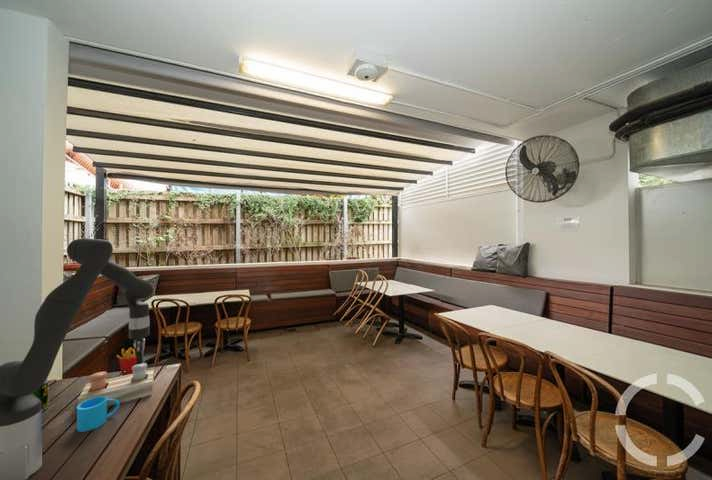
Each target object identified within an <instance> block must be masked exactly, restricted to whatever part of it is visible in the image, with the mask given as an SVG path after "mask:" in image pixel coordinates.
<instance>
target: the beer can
mask: <svg viewBox="0 0 712 480" xmlns="http://www.w3.org/2000/svg"><path fill="white" fill-rule="evenodd" d="M49 382H50V381H49V377H47V379H46V381H45V382H44V384H43V385H42V386H41V387H40V388H39V389H38V390H36V391H35V392H34V393H33V394H34V395H35V396H36V397H37V398H39V399H40V400H41V403H42V412H43V411H45V410H47V409H48V407H49V405H50V401H49V400H50V388H49V386H50V383H49Z"/></svg>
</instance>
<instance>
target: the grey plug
mask: <svg viewBox="0 0 712 480" xmlns="http://www.w3.org/2000/svg"><path fill="white" fill-rule="evenodd" d="M147 368H148V363H146V362H145V363H144V362H143V363H142V364H138V365H135V366H133V367H132V371H133V382H136V381H140V380H144V379H146V371H147Z"/></svg>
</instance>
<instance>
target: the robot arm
mask: <svg viewBox="0 0 712 480" xmlns="http://www.w3.org/2000/svg"><path fill="white" fill-rule="evenodd" d="M113 252H114V247H113V244H112V243H111V242H110V241H109V240H105V239H99V238H78V239H74V240H71V242H70V243H69V244H68V246H67V248H66V254H67V256H68V258H69V259H70V260H72V261H73V262H76V264H79V265H80V266H79V268H78V269H77V270H76V272H75V273H73V275H72V276H70V277H69V278H67V279H66V280H65V281H64V282H62V283H60V284H59V285H58V286H57V287H55V288H54V289H53V290H52V291H50V292H49V294H48V295H47V296H46V297H45V298H44V300H43V302H42V304H41V305H40V307H39V308H38V310H37V312H36V314H35V318H34V322H33V323H34V325H33V329H34V330H33V331H34V332H33V333H34V334H33V341H32V344H31V347H30V349H29V350H28V352H27V353H26V355H25V357H24V359H23V360H14V361H8V362H6V363H3V364H0V480H28V479H29V477H30V476H32V475H33V474H35V473H36V472H37V471H38V470H39V469H41V467H42V465H43V453H42V452H43V449H42V448H43V439H42V435H43V432H42V430H43V429H42V427H43V426H42V424H43V423H42V421H43V417H42V412H43V411H42V403H41V400H40V399H39V398H37V397H36V396H35V395H34V394H33V393H34V392H35V391H36V390H38V389H39V388H40V387H41V386H42V385H43V384H44V382H45V381H46V379H47V378H49V375H50V374H51V371H52V369H53V367H54V366H53V365H54V363H55V361H56V360H57V359H56V358H57V356H58V353H59V351H60V348H61V346H62V344H63V342H64V340H65V338H66V336H67V334H68V332H69V330H70V328H71V326H72V324H73V322H74V321H75V319H76V318H77V315H78V314H79V311H80V310H81V308H82V306H83V304H84V302H85V300H86V299H87V298H86V297H88V294H89V292H90V291H91V289H92V288H93V286H94V283H95V282H96V280H97V279H98V277H99V276H103V278H106V279H107V280H109V281H111V282H112V283H113V284H114V285H116V286H117V287H118V288H120V289H122V290H124V292H123V293H124V299H125V300H126V303H127V306H128V308H129V309H128V310H129V313H128V314H129V320H128V339H131V340H134V341H133V347H134V348H133V349H134V351H135V356H136V364H137V365H138V364H142V363H144V359H143V358H144V354H145V353H144V351H145V345H146V344H145V343H146V337H148V336H149V335H150V323H151V322H150V321H151V320H150V310H149V309H150V307H149V306H150V305H149V303H147V302H143V301H141V299H148V298H149V297H151V296H152V295H153V294H154V287H153V285H152V284H151V283H150V282H148V281H147V280H145V279H143V278H140V277H137V276H136V275H135V274H134V273H133V272H132V271H131V270H129V269H128V268H126V267H125V266H122V265H120V264H118V263H116V262H114V261H111V260H110V259H111V258H112V255H113Z"/></svg>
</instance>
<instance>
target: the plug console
mask: <svg viewBox="0 0 712 480" xmlns="http://www.w3.org/2000/svg"><path fill="white" fill-rule="evenodd" d="M154 383H155V369H154V368H153V369H148V370H147V369H146V379H144V380H140V381H136V382H133V374H129V375H125V376H122V375H120V376H117V377H116V376H115V377H111V378H106V389H102V390H97V391H93V392H91V382H90V383H89V382H88V383H86V384H85V386H84V387H83V390H82V391H81V393H80V394H79V396H78V398H77V406H78V405H79V404H81V403H82V402H84V401H86V400H89V399H92V398H96V397H106V398H107V399H116V400H118V401H119V404H121V403H125V402H128V401H133V400H135V399H136V400H137V399H140V398H145V397H148V396H152V395H153V394H154V393H153V392H154ZM114 405H116V403H115V402H113V401H108V402H107V407H110V406H114Z"/></svg>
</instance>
